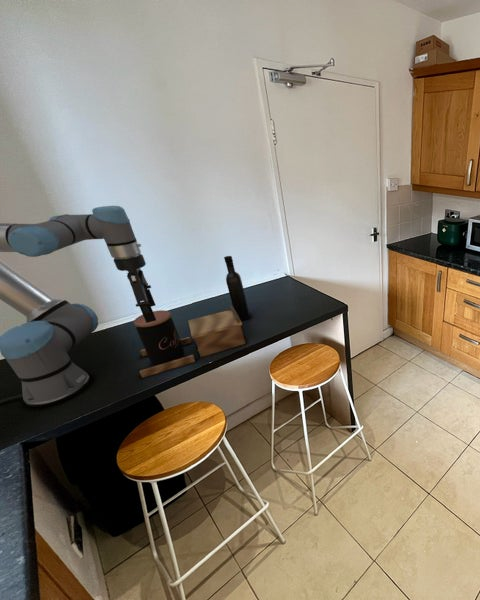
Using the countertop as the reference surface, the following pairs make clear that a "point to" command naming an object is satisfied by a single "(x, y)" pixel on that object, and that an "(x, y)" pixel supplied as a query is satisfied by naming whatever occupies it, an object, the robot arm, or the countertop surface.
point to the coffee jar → (160, 338)
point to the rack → (206, 338)
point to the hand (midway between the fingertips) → (151, 313)
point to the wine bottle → (236, 290)
